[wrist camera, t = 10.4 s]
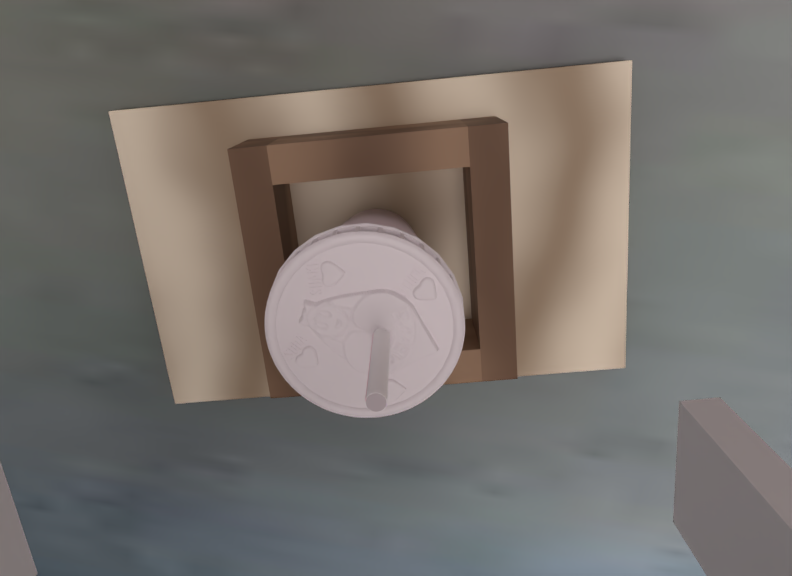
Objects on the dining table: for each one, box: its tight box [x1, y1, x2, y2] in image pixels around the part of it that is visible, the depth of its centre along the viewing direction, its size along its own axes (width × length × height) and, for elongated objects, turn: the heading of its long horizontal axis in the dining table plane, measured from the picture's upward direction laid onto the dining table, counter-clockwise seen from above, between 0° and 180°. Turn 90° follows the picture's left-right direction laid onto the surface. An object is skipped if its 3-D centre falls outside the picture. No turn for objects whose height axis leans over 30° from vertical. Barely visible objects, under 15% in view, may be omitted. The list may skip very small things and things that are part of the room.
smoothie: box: [265, 209, 465, 418], centre depth 23 cm, size 6×6×14 cm
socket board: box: [109, 60, 632, 404], centre depth 28 cm, size 22×14×4 cm, turn 95°
